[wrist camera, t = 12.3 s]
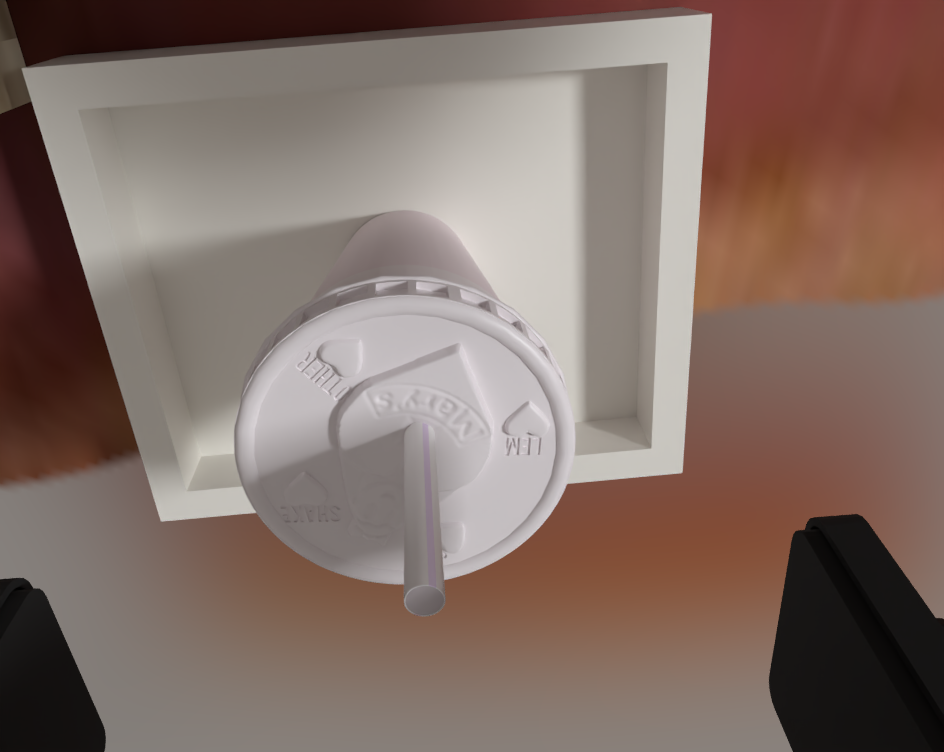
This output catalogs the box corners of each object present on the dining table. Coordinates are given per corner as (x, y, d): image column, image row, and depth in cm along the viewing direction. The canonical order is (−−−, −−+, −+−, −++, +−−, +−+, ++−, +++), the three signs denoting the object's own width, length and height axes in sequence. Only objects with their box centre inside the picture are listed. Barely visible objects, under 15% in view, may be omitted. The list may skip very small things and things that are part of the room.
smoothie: (554, 215, 23) (728, 521, 11) (462, 399, 26) (517, 819, 13) (338, 122, 21) (249, 355, 9) (263, 328, 24) (114, 730, 12)
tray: (681, 6, 21) (712, 13, 19) (660, 430, 27) (682, 472, 25) (62, 55, 21) (21, 68, 19) (181, 474, 27) (161, 521, 25)
